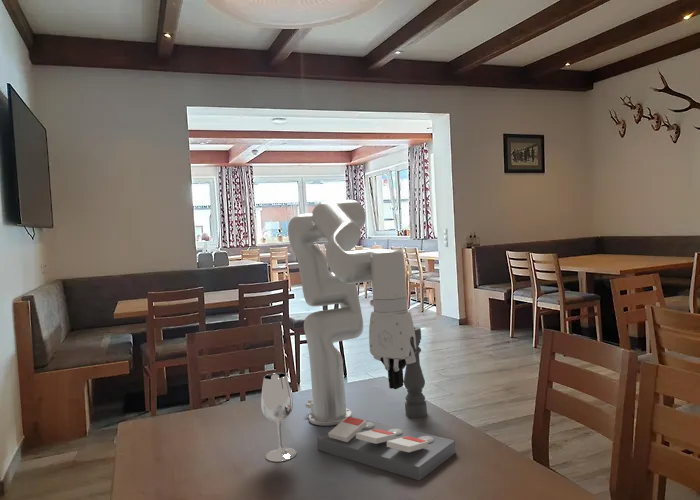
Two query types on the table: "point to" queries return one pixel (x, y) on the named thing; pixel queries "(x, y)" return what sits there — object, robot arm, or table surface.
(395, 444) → the rocker
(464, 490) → the table surface
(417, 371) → the candle holder
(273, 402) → the wineglass
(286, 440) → the table surface
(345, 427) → the rocker
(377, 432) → the rocker
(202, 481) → the table surface
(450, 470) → the table surface
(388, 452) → the power strip
